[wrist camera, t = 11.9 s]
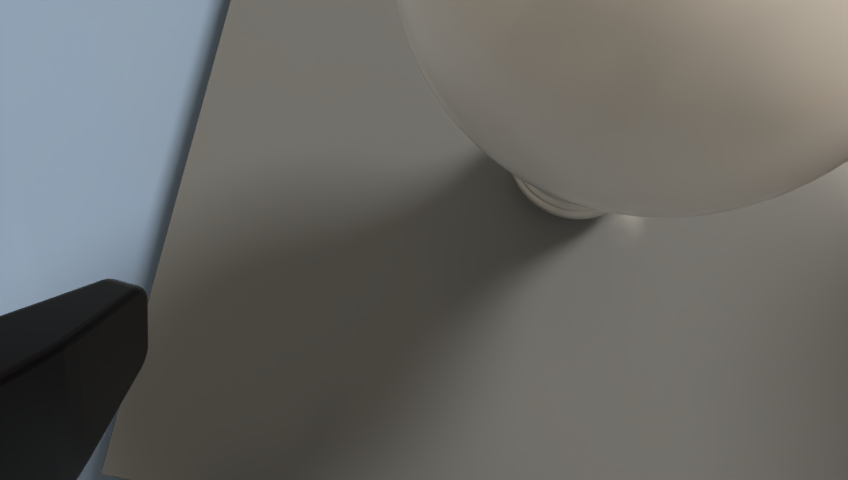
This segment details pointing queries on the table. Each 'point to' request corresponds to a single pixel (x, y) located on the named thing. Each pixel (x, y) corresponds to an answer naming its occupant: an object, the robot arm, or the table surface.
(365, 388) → the slate tile
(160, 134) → the table surface
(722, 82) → the lightbulb
